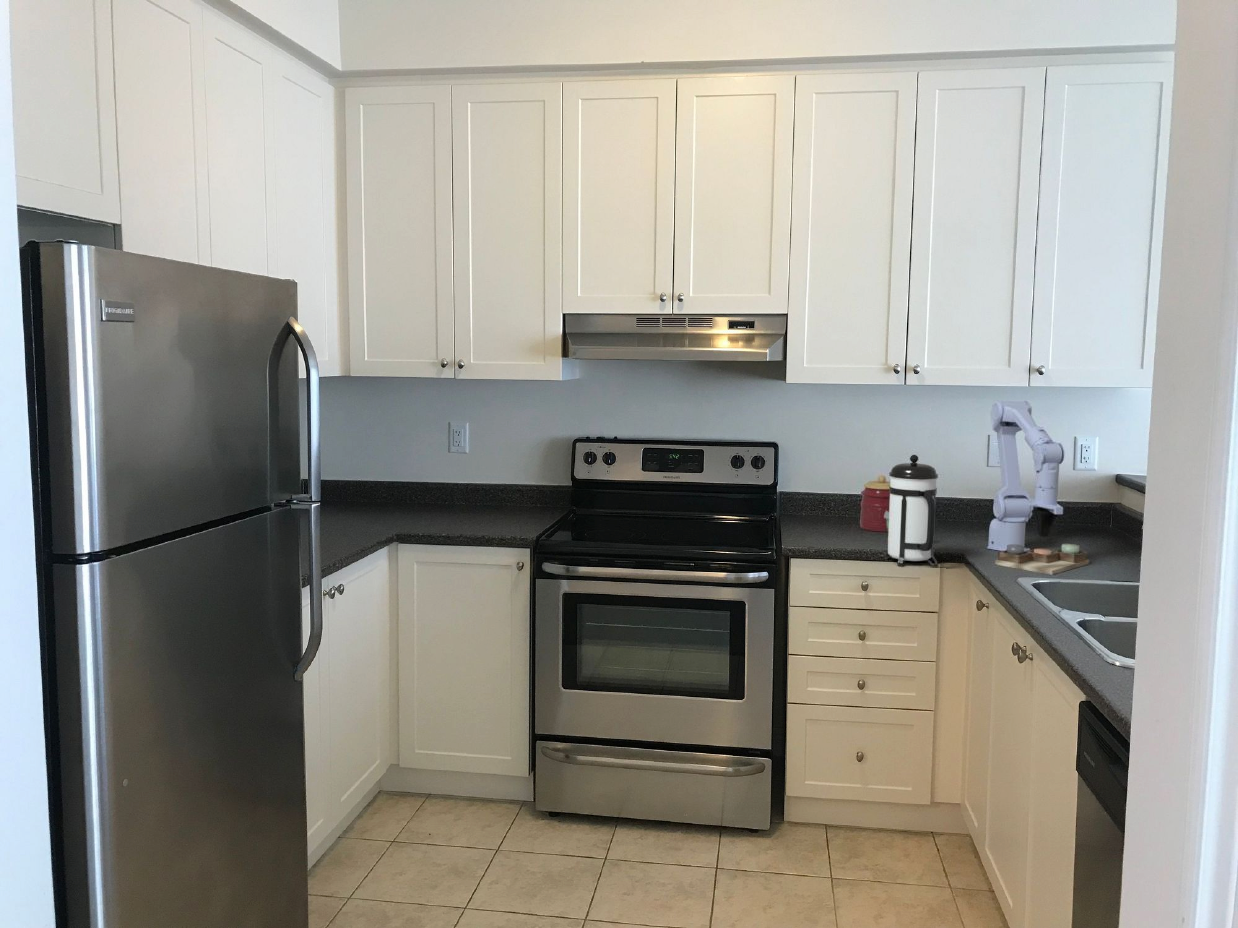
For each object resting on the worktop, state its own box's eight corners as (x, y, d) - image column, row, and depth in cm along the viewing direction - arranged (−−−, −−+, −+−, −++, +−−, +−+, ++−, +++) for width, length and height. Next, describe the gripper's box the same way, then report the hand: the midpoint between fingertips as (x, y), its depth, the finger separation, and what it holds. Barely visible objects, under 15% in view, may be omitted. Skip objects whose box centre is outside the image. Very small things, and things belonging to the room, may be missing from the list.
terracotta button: (1030, 559, 267) (1031, 549, 267) (1038, 557, 270) (1039, 547, 269) (1046, 561, 263) (1046, 552, 263) (1053, 559, 266) (1054, 550, 266)
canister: (893, 525, 325) (895, 473, 323) (905, 532, 312) (907, 478, 310) (855, 524, 325) (857, 472, 323) (865, 532, 312) (867, 478, 310)
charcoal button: (1003, 554, 266) (1003, 545, 266) (1011, 552, 269) (1012, 543, 268) (1018, 557, 263) (1019, 548, 262) (1026, 555, 265) (1027, 546, 265)
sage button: (1058, 554, 267) (1058, 544, 267) (1065, 552, 270) (1066, 543, 270) (1074, 556, 264) (1074, 547, 264) (1081, 554, 267) (1082, 545, 266)
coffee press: (870, 562, 267) (874, 455, 263) (896, 554, 279) (901, 450, 275) (930, 572, 255) (935, 460, 252) (955, 563, 267) (960, 455, 264)
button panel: (995, 564, 266) (995, 552, 266) (1032, 554, 279) (1033, 542, 279) (1052, 574, 254) (1052, 562, 254) (1088, 563, 267) (1089, 551, 267)
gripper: (1019, 483, 271) (1016, 531, 273) (1046, 491, 257) (1043, 541, 258) (1043, 483, 272) (1040, 530, 273) (1071, 490, 257) (1068, 541, 259)
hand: (1043, 536), depth 266 cm, fingers closed
